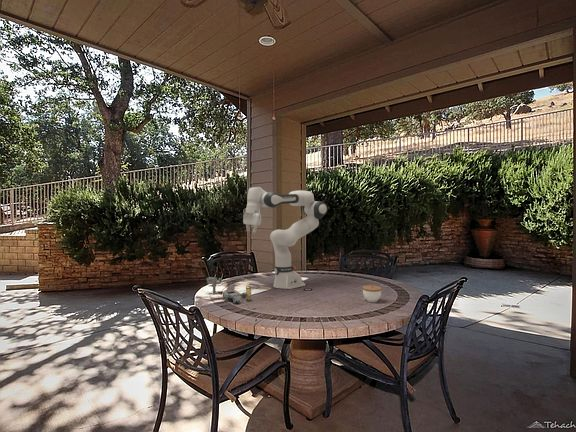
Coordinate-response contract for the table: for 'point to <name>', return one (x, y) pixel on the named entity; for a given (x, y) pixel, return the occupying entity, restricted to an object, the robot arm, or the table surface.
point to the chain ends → (233, 296)
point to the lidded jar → (372, 293)
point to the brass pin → (248, 293)
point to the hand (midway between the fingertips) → (251, 231)
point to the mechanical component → (213, 282)
